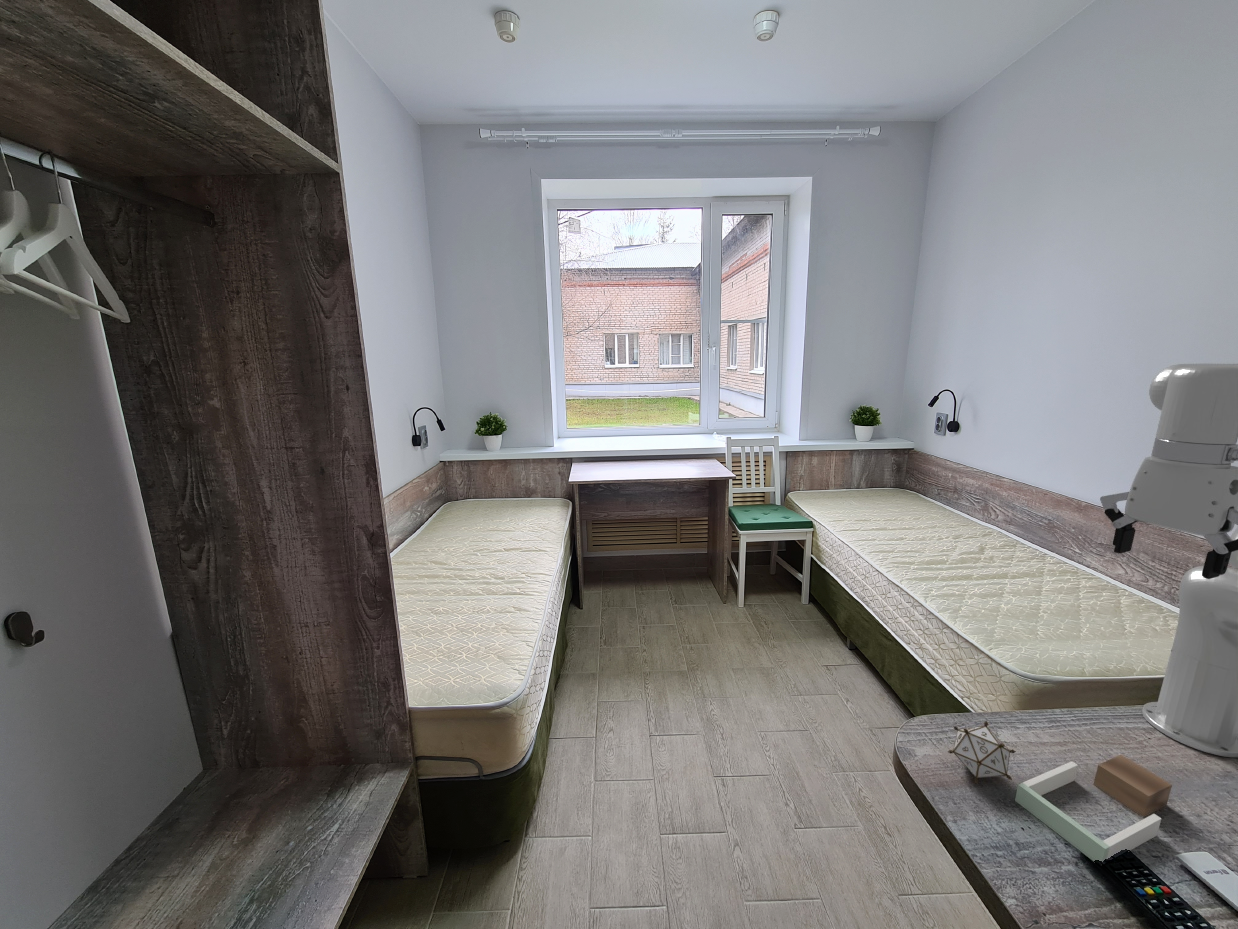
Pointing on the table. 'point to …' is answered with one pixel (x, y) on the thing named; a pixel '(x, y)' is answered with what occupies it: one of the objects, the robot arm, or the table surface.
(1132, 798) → the walnut block
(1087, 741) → the table surface
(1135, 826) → the walled bay
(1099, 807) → the table surface
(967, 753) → the game die
